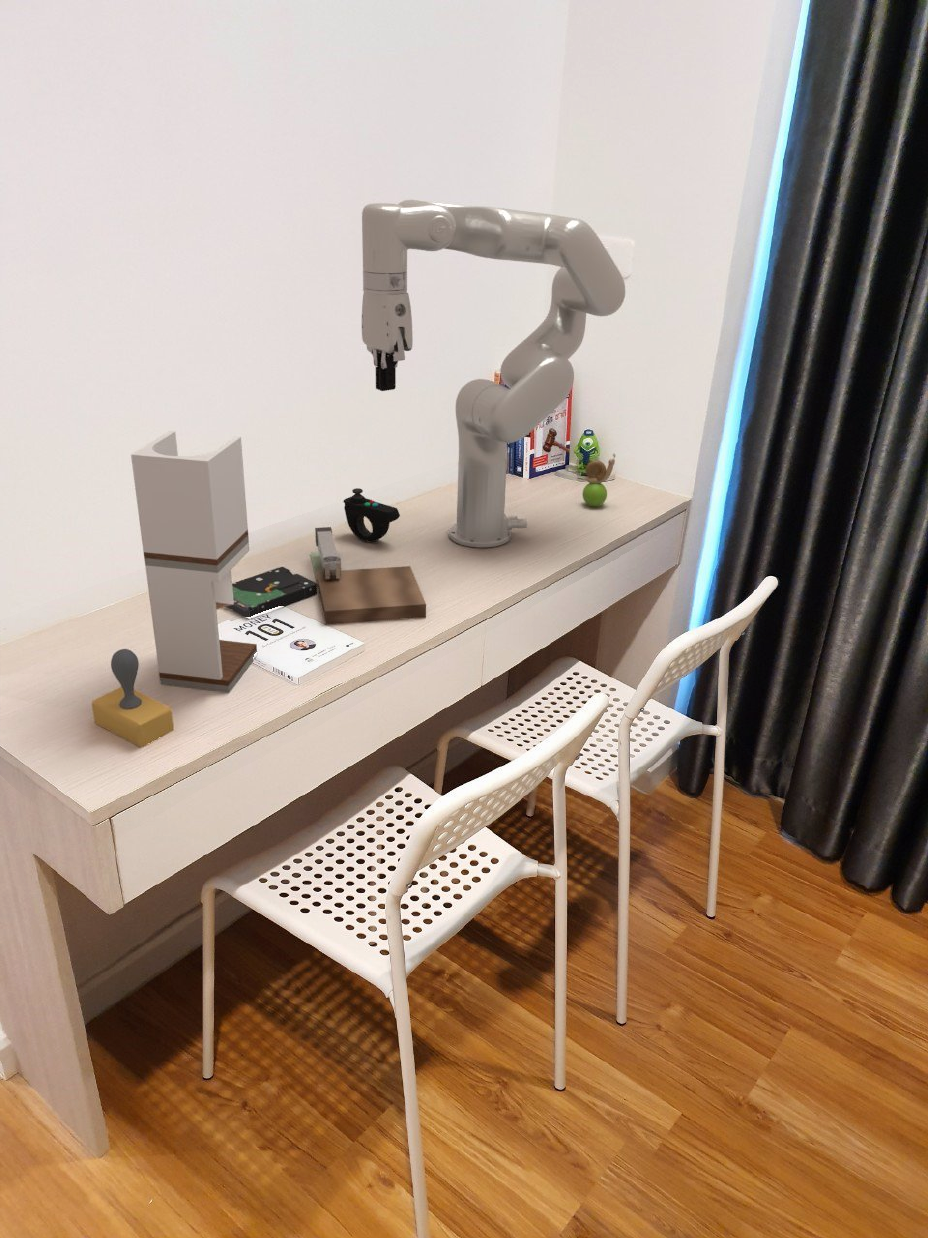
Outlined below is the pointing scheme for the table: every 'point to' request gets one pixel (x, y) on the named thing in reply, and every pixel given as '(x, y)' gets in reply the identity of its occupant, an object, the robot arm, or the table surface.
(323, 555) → the folding leg
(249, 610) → the disk drive
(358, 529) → the controller
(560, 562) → the table surface
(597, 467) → the snail figurine
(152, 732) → the rubber stamp
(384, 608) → the brown flat wooden board
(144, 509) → the gray dispenser tower
